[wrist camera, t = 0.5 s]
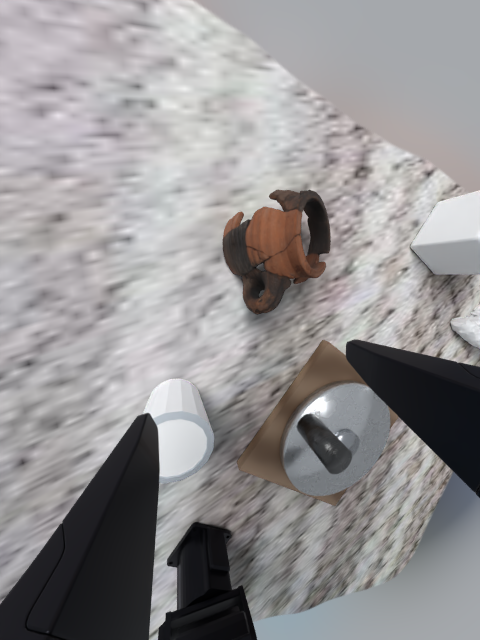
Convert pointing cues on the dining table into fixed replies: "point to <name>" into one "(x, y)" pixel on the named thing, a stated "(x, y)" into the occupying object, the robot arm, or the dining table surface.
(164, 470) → the shot glass
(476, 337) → the sitting furry creature
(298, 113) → the dining table surface
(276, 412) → the walnut board
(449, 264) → the medicine bottle
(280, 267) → the pottery mug
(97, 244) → the dining table surface
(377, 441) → the handwheel
